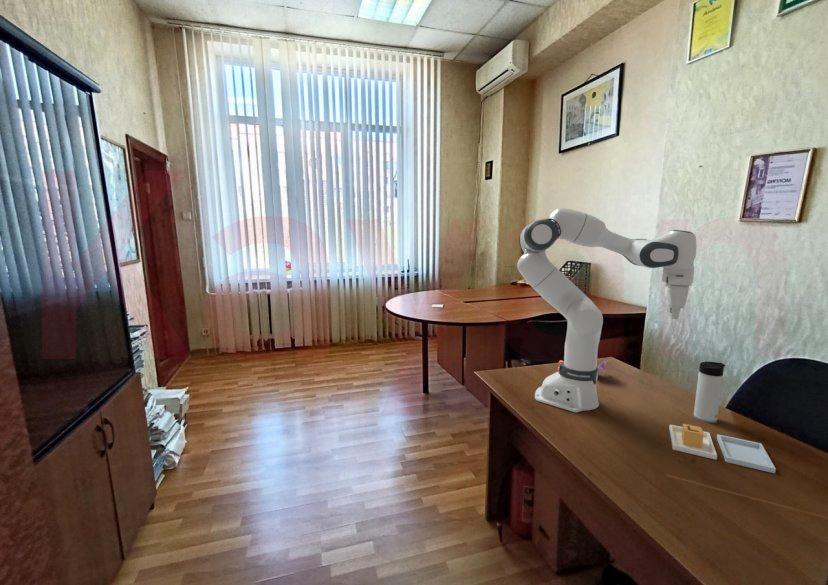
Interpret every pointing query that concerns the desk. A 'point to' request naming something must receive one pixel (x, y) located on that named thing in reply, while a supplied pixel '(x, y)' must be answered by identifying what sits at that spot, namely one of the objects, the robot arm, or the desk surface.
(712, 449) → the tray white
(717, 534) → the desk surface
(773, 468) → the tray bluegrey
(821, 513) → the desk surface
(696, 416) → the travel mug
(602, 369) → the lily
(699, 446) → the letter cube
